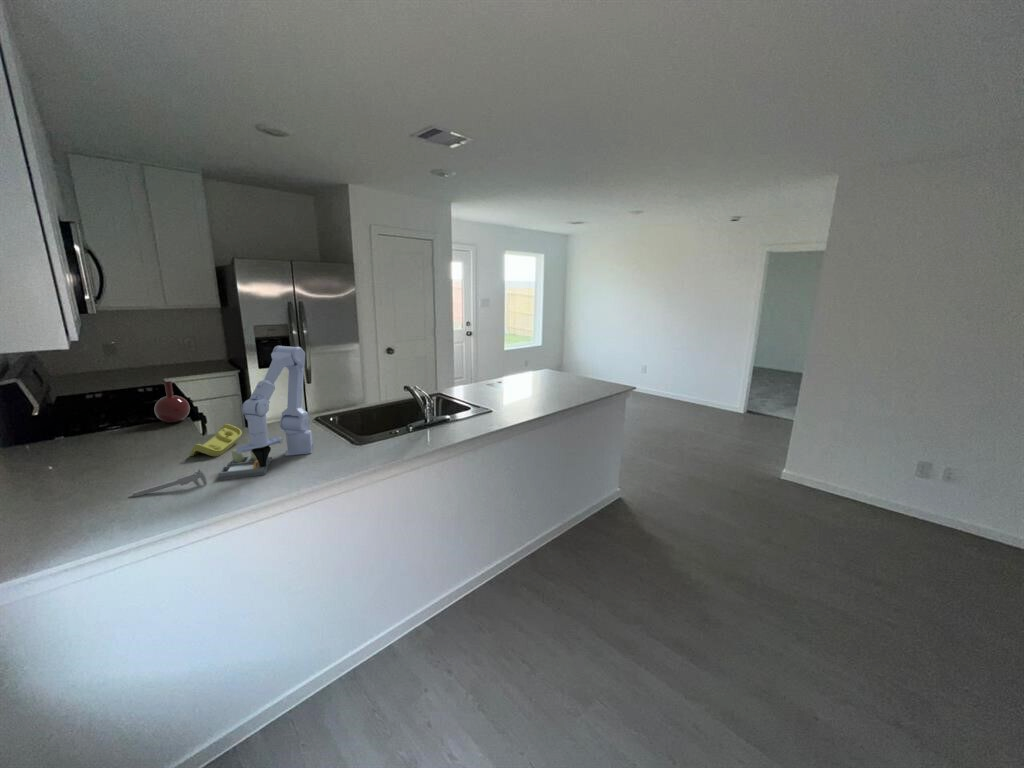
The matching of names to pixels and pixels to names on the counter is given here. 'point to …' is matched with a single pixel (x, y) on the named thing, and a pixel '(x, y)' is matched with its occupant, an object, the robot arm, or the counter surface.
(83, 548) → the counter surface
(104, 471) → the counter surface
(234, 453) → the peg
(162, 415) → the round-bottom flask
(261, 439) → the robot arm
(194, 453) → the plastic component
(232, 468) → the lid
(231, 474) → the housing
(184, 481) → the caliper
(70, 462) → the counter surface
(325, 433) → the counter surface
